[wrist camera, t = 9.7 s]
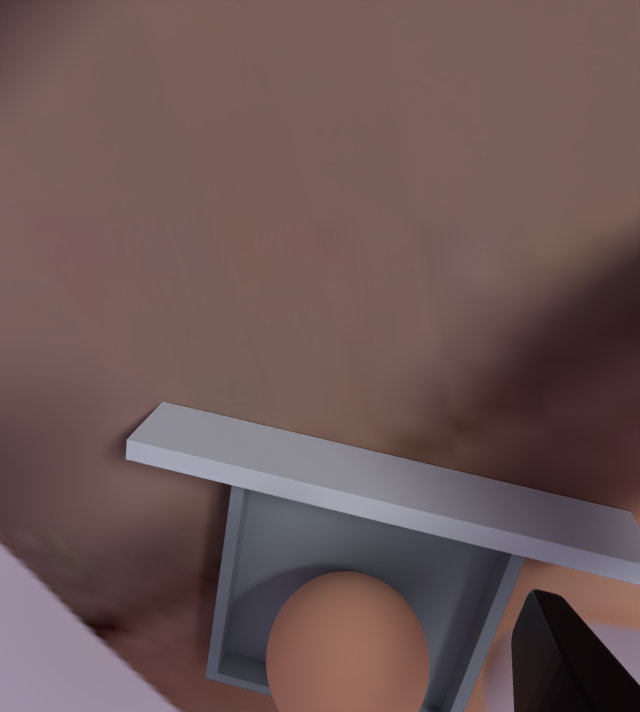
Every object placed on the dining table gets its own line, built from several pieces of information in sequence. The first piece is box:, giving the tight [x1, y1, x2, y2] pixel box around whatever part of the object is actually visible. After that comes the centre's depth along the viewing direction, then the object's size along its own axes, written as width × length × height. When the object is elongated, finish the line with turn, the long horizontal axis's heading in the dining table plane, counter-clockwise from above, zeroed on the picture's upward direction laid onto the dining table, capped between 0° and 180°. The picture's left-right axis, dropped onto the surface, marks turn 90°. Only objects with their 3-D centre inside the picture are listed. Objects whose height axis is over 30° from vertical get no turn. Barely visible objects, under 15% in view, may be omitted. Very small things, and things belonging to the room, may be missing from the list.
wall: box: [126, 402, 640, 585], centre depth 20 cm, size 18×1×3 cm, turn 80°
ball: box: [266, 571, 429, 712], centre depth 21 cm, size 6×6×6 cm
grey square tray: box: [205, 485, 526, 712], centre depth 23 cm, size 11×11×2 cm
